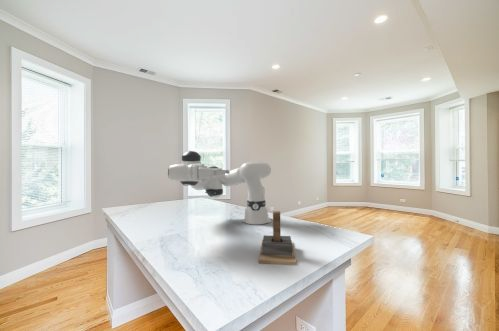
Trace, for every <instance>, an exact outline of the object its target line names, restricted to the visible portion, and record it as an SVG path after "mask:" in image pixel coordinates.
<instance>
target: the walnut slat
mask: <svg viewBox="0 0 499 331" xmlns="http://www.w3.org/2000/svg"><path fill="white" fill-rule="evenodd" d="M272 236H273V242H281V237H280V236H281V211H279V210H278V211H277V210H276V211H274V210H273V211H272Z"/></svg>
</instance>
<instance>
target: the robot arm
mask: <svg viewBox="0 0 499 331" xmlns="http://www.w3.org/2000/svg"><path fill="white" fill-rule="evenodd" d="M201 160H202V156H201V154H199V153H198V152H196V151H193V150H188V151H187V150H186V151H185V152H184V153H183V154H182V155H181V163H177V164H176V163H175V164H171V165H169V167H168V168H167V170H168V171H167V177H168V180H169V181H173V182H180V183H181V184H182V185H183V186H186V187H187V186H190V187H191V188H192V189H194V190H196V191H203V190H205V194H206V195H207V196H209V197H210V198H218V197H220V196H223V194H224V189H223V186H225V187H234V186H239V185H241V184H245V185H246V188H247V200H246V205H247V206H246V208H245V209H244V218H243V219H242V220H241V222H242V223H246V224H249V225H264V224H267V223H268V224H269V223H272V220H271V219H270V217H269V210H268V208H267V207H266V205H267V203H266V195H265V192H266V189H265V187H264V186H263V184H262V182H261V180H263V179H265V178H268V177H269V176H270V175H271V171H272V168H271V166H270V164H268V163H266V162H263V161H248V162H245V163H243V164H241V166H240V167H237V168H236V167H235V168H234V169H231V170H229V169H223V168H220V167H219V166H215V165H214V166H213V165H211V166H210V165H209V166H207V165H205V163H201Z"/></svg>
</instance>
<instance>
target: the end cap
mask: <svg viewBox="0 0 499 331" xmlns="http://www.w3.org/2000/svg"><path fill="white" fill-rule="evenodd" d="M280 237H281V242H273V235H268V234H267V235H265V234H264V235H263V238H262V240H261V246H260V252H259V256H258V257H259V258H258V264H272V265H274V264H275V265H295V266H296V265H297V260H296V254H295V248H294V244H293V241H292V237H291V235H280Z"/></svg>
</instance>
